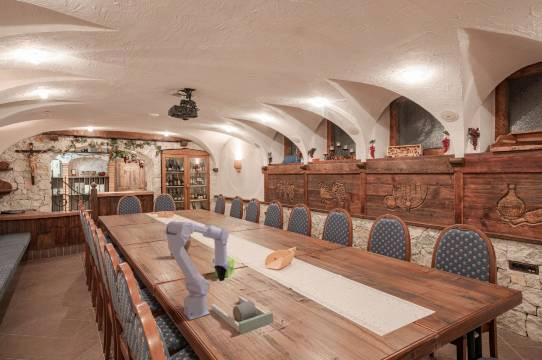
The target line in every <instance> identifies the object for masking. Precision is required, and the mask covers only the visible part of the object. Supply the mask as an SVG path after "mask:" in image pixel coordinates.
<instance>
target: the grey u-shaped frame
mask: <svg viewBox="0 0 542 360" xmlns="http://www.w3.org/2000/svg"><path fill="white" fill-rule="evenodd" d="M247 301H249V300H247V298H244V297H243V296H242V295H241V296H240V295H239V296H238V303H239V304H242V303H244V302H247ZM254 305H255V307H256V311H257V316H256V317H253V318H250V319H247V320H244V321H241V322H239V323H238V322H237V321H236V320H235V319H234V317H232V316H231V315H229V314H228V313H226V312H225V311H224V310H223V309H222V308H220V307H219V306H218V305H216V304H215V303H212V304H211V311H212V312H213V313H215V314H216V315H217V316H218V317H219V318H220V319H222V320H223V321H225V322H226V323H227V324H228V325H230V327H232V328H234V330H235V331H237V332H238V333H239V334H240V335H242V334H245V333H248V332H250V331H253V330H257V329H258V328H259V329H260V328H262V327H264V326H267V325H270V324H273V323H274V313H273V311H269V312H267V311H265V310H263V309H262V308H261V307H259V306H257V305H256V304H254Z"/></svg>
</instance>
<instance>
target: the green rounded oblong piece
mask: <svg viewBox="0 0 542 360" xmlns="http://www.w3.org/2000/svg"><path fill="white" fill-rule="evenodd" d="M227 260H229V262H228V264H229V265H230V269H227V271H226V274H225V278H230V277H231V275H233V273H235V258H234V257H228V256H227ZM214 266H217V265H215V264H214ZM214 277H216V278H218V275H217V272H216V270H215V269H214ZM225 278H224V279H225Z"/></svg>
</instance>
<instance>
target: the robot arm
mask: <svg viewBox="0 0 542 360" xmlns="http://www.w3.org/2000/svg"><path fill="white" fill-rule="evenodd" d="M194 233H198V234H199V233H200V234H201V235H202V236H203V237H204V238H207V239H212V240H214V258H212V263H213V264H214V271H215V270H216V272H217V275H218V277H217V278H218V281H219V282H222V281H223V282H224V281H225V274H226V271H227V269H230V265H229V264H228V262H229V260H227V257H228V253H227V252H228V251H227V243H228V239H229V236H230V233H229V231H228V230H227V229H226V228H221V227H220V226H218V225H217V226H214V225H213V224H212V223H209V224H206V225H200V224H197V223H194V222H187V221H186V222H185V221H175V220H174V221H173V220H172V221H169V223H168V224H167V225H166V227H165V232H164V234H165V236H166V239H167V245H168V246H167V247H168V250H169V252H170V253H171V254H172V255H173V256H172V255H171V256H172V257H173V258H174V260H175V261H176V263H177V265H178V267H179V268H180V270H181V272H182V274H183V275H184V277H185V279H184V281H183V282H184V284H185V289H186V291H188V295H187V296H185V297H184V298H183V314H184V315H185V316H186V318H187V319H188V320H189V321H190V320H195V319H198V318H201V317H204V316H207V315H208V316H209V315H210V314H211V312H210V311H208V309H207V307H208V306H207V305H208V304H207V295H208V292H209V291H210V287H211V285H210V284H211V283H210V281H208V279H206V278H205V277H204V276H203V275H201V274H200V273H199V272H198V270H197V268H196V266H195V264H194V263H193V261H192V260H191V258H190V257H189V256H188V254H189V253H188V254H187V252H186V250H185V249H184V247H183V246H184V245H185V244H186V242H187V240H188V238H190V236H191V235H193V234H194ZM215 265H217V266H215Z"/></svg>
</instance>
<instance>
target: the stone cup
mask: <svg viewBox="0 0 542 360" xmlns="http://www.w3.org/2000/svg"><path fill="white" fill-rule="evenodd" d="M191 243H192V240H191V238H190V237H189V238H188V240H187V242H186V244H185V245H184V246H183V247H184V249H185V250H186V252H187V254H188V256H189V257H190V256H191V255H190V254H189V253H188V251H189V249H190V246H191ZM170 256H172V257H173V255H172V254H171V252H170Z"/></svg>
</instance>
